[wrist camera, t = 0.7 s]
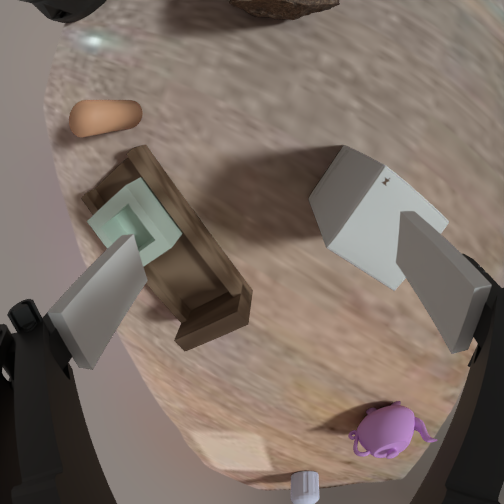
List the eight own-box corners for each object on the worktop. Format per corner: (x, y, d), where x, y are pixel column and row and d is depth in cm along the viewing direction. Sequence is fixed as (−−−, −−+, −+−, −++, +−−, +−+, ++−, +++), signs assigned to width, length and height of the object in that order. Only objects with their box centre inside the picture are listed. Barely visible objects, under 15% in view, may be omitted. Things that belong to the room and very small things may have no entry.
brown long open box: (95, 190, 39) (64, 207, 32) (145, 144, 36) (117, 153, 29) (196, 318, 48) (185, 351, 41) (252, 290, 45) (248, 324, 37)
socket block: (109, 206, 38) (87, 221, 33) (146, 174, 36) (125, 185, 31) (146, 255, 41) (129, 276, 36) (186, 228, 39) (172, 247, 34)
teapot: (428, 385, 53) (444, 427, 42) (420, 415, 59) (431, 453, 48) (345, 407, 57) (351, 454, 46) (347, 434, 63) (352, 475, 51)
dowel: (112, 113, 34) (63, 118, 24) (132, 94, 33) (86, 92, 23) (126, 134, 36) (80, 144, 26) (147, 116, 34) (104, 119, 24)
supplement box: (305, 199, 38) (321, 248, 25) (343, 143, 34) (384, 160, 21) (358, 234, 39) (394, 294, 26) (395, 183, 36) (452, 222, 22)
